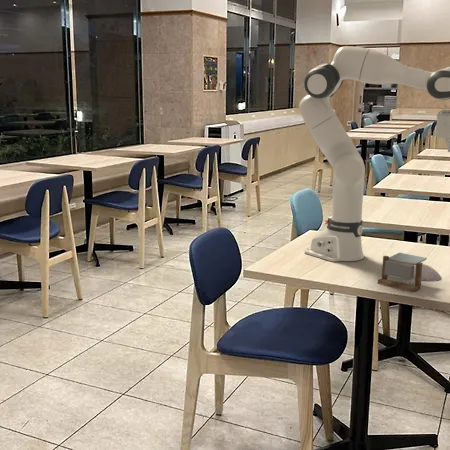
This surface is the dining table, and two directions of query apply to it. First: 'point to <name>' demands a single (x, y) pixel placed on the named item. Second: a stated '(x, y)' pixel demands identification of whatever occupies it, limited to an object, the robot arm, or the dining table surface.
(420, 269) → the frame
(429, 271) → the seashell
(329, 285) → the dining table surface
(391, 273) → the trapdoor
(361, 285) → the dining table surface
